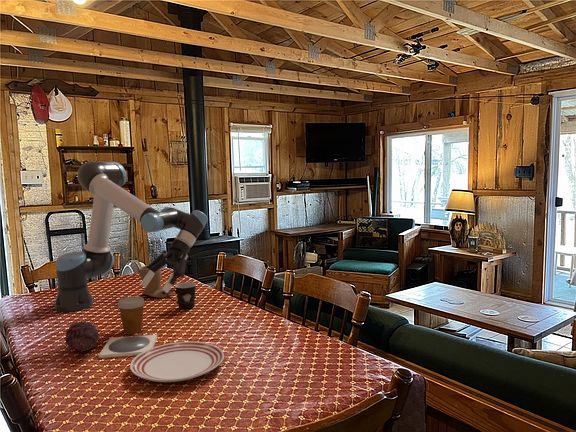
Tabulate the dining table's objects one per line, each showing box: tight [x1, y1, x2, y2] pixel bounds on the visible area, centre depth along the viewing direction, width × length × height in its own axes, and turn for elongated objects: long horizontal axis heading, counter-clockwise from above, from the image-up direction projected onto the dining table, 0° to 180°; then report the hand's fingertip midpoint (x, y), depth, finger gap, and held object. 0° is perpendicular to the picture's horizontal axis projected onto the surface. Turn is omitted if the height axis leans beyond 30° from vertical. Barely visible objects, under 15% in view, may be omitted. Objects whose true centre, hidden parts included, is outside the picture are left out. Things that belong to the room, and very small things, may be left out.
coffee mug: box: [166, 282, 197, 311], centre depth 185 cm, size 12×9×10 cm
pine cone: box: [65, 321, 100, 352], centre depth 142 cm, size 18×10×10 cm, turn 36°
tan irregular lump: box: [138, 264, 175, 299], centre depth 203 cm, size 15×12×15 cm
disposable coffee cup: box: [117, 295, 146, 335], centre depth 159 cm, size 10×10×12 cm
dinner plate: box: [129, 341, 225, 383], centre depth 130 cm, size 28×27×3 cm
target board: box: [98, 334, 158, 359], centre depth 145 cm, size 16×14×1 cm
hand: (153, 288), depth 165 cm, fingers open, 13 cm apart
